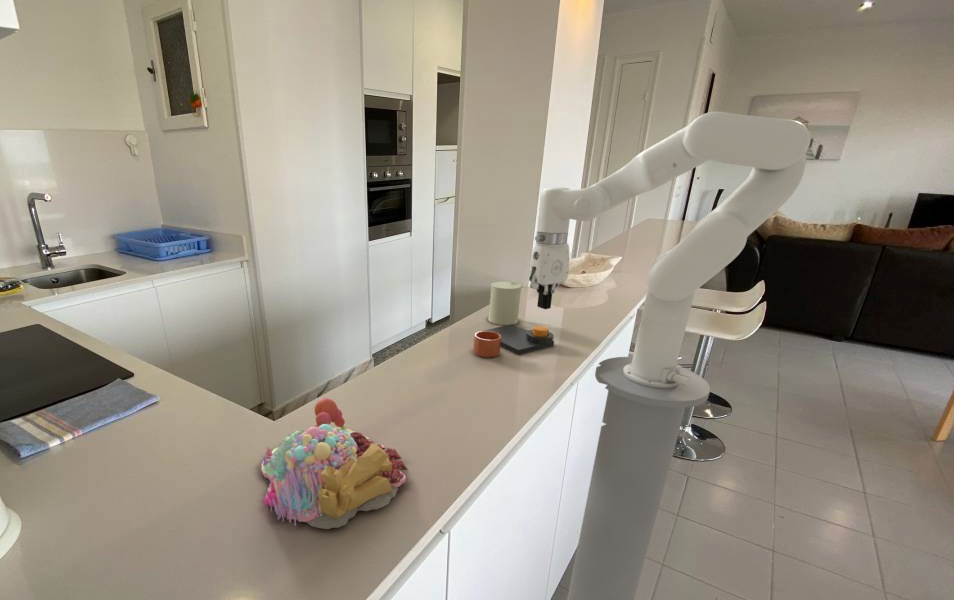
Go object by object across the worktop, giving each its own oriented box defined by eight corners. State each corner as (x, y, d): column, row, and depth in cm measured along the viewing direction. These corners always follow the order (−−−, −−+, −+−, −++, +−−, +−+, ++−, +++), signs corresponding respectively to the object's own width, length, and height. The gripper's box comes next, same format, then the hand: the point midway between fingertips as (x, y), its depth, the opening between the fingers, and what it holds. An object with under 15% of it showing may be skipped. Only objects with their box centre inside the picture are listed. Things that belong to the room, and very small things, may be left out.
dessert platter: (432, 472, 79) (434, 424, 76) (329, 558, 63) (326, 501, 59) (328, 421, 94) (325, 379, 91) (222, 480, 78) (215, 431, 74)
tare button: (550, 336, 131) (551, 329, 130) (540, 338, 129) (541, 331, 128) (539, 331, 134) (540, 324, 133) (529, 334, 132) (530, 327, 131)
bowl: (505, 355, 125) (506, 337, 123) (484, 360, 122) (486, 342, 120) (487, 346, 131) (489, 329, 129) (468, 351, 128) (469, 333, 126)
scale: (557, 345, 131) (558, 335, 130) (519, 355, 125) (520, 344, 124) (515, 327, 144) (516, 318, 143) (478, 335, 138) (479, 326, 137)
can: (524, 321, 150) (528, 284, 145) (504, 327, 145) (507, 288, 140) (502, 313, 157) (505, 278, 152) (482, 319, 152) (484, 282, 147)
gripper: (541, 243, 115) (533, 316, 122) (584, 237, 122) (574, 307, 128) (519, 239, 121) (512, 308, 128) (560, 234, 128) (553, 300, 134)
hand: (543, 307), depth 128 cm, fingers closed
